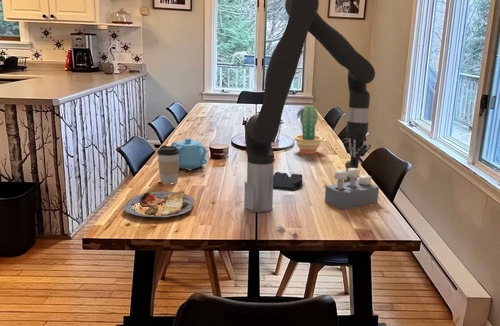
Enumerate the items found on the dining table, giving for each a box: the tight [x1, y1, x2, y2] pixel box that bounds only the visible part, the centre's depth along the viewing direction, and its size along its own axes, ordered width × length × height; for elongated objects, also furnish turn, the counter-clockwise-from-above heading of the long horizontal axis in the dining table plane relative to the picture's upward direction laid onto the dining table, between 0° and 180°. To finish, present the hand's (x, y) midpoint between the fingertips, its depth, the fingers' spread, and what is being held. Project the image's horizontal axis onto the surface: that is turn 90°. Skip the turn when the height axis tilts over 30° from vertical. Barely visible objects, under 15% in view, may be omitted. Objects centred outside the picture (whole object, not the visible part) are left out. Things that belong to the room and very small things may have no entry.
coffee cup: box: [157, 145, 180, 185], centre depth 186 cm, size 9×9×15 cm
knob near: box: [334, 169, 347, 191], centre depth 164 cm, size 4×4×8 cm
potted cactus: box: [294, 105, 324, 155], centre depth 241 cm, size 15×15×25 cm
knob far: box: [358, 174, 372, 186], centre depth 171 cm, size 4×4×8 cm
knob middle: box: [347, 168, 361, 188], centre depth 167 cm, size 4×4×8 cm
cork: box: [343, 160, 359, 183], centre depth 185 cm, size 6×6×11 cm
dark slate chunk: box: [273, 171, 303, 192], centre depth 189 cm, size 15×22×5 cm
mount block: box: [324, 179, 380, 211], centre depth 168 cm, size 17×10×6 cm, turn 120°
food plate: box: [123, 190, 196, 218], centre depth 159 cm, size 25×23×4 cm
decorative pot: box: [170, 137, 208, 170], centre depth 209 cm, size 16×16×14 cm
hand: (354, 166), depth 166 cm, fingers closed
